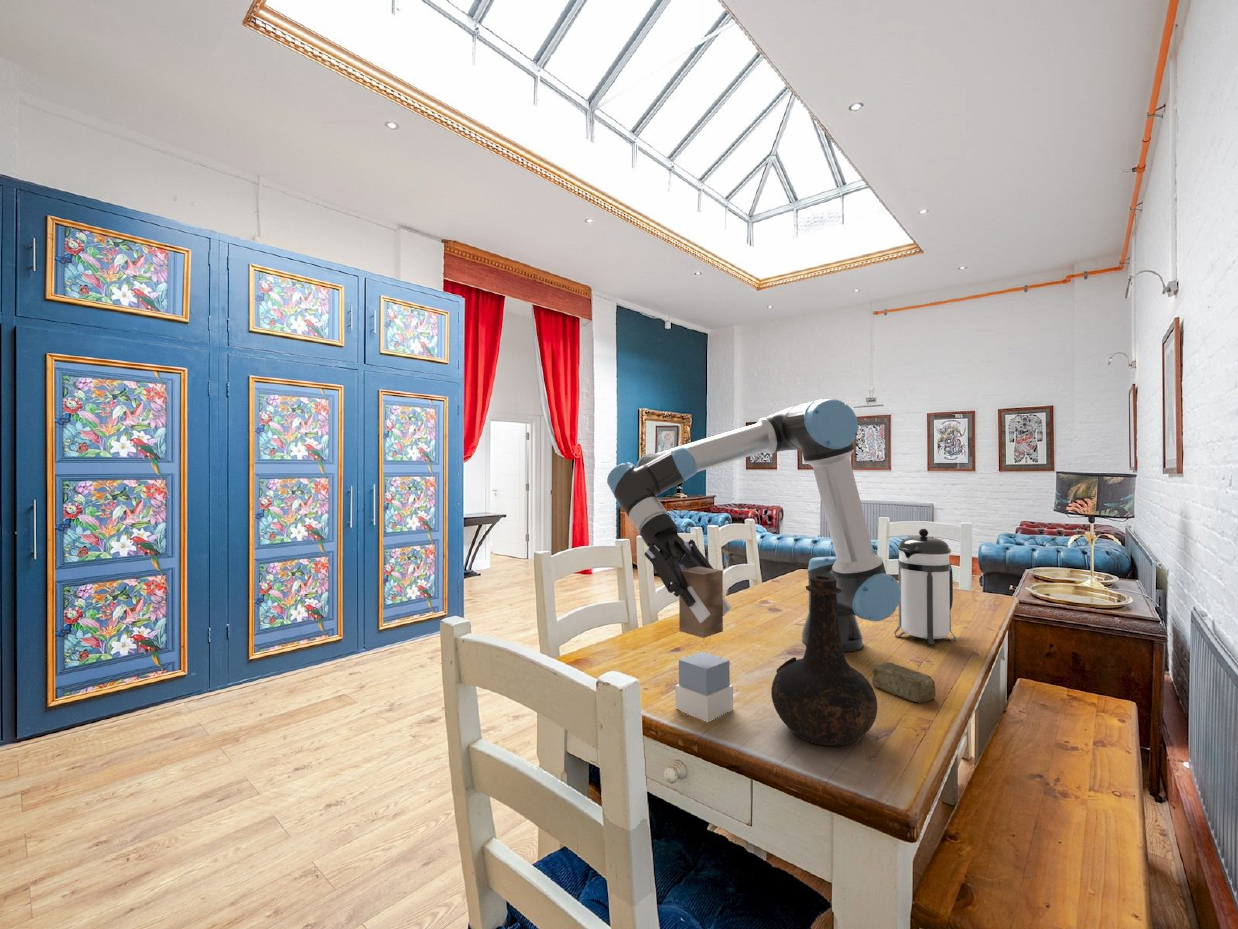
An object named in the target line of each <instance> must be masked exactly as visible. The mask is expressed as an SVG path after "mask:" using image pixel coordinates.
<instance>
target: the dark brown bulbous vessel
mask: <svg viewBox="0 0 1238 929" xmlns="http://www.w3.org/2000/svg"><path fill="white" fill-rule="evenodd" d="M810 582H811V585H809V584H808V585H806V586H805V590H807V591H808V592H809V591H810V592H811V603H810V621H809V632H808V640H807V644H806V647H805V650H804V651H805V652H804V655H803V657H802V658H799V659H798V658H797V657H794V656H793V657H791V658H790V659H788V660H786V661H784V663H782V664H781V665H780V666H779V667H778V668H776V674H775V676H774V678H773V680H772V684H771V694H770V695H771V701H772V704H773V708H774V709H775V711H776V713H777V715H778V716H779V718H780V719H781V721H782V722H783V724H784V725H785V726H786V727H787V728H788V729H789V730H790V731H791V732H792V733H794V734H795V736H797V737H799V738H800V739H802V740H805V741H806V742H808V743H811V744H815V745H819V746H820V745H821V746H826V747H827V746H828V747H837V746H845V745H847V744H851V743H855V742H856V741H858V740H859V739H861V738H862V737H864V736H865V735H866V734H867V733H868V732H869V731H870V729H871V728H872V727H873V725H874V723H875V721H876V719H877V714H878V699H877V696H876V692H875V690H874V688H873V685H871V683H870V682H869V680H868V679H867V678H866V677H865V676H864V675H863V674H862V673H861V672H860V671H858V670H857V669H855V667H853V666H851V665H849V663H848V662H847V660H846V656H845V652H843V648H842V642H841V637H840V629H839V621H838V610H837V594H838V593H841V592H842V590H841V589H840V588H837V587H836V583H837V580H835V579H833V578H830V577H825V576H814V577H810Z"/></svg>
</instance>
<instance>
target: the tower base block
mask: <svg viewBox="0 0 1238 929" xmlns="http://www.w3.org/2000/svg"><path fill="white" fill-rule="evenodd" d="M674 689H675V690H674V694H675V696H674V697H675V698H674V700H675V702H674V704H675V707H674V708H677V709H679V710H681V711H682V712H681V713H683V712H686V713H688V714H689V715H688V714H687V715H688V716H690V715H693V716H695V717H697V718H699V719H703V720H705V721H706V722H705V723H707V722H709V721H710V720H712V719H714V720H716V719H718V718H720V717H722V716H724V715H726V714H727V713H726V712H728V713H731V712H732V711H734V685H732V684H730V686H728V687H726V688H724V689H721V690H719V691H717V692H714V693H712V694H710V695H707V696H706V695H703V694H701V693H698V692H696V691H693V690H690V689H688V688H685V687H683V686H680V685H679V683H677V684H675V686H674ZM725 713H726V714H725ZM723 714H724V715H723ZM721 715H722V716H721ZM719 716H720V717H719ZM695 717H694V718H695ZM717 717H718V718H717ZM697 718H696V719H697ZM715 718H716V719H715ZM699 719H698V720H699ZM709 723H710V722H709Z"/></svg>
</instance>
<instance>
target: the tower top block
mask: <svg viewBox="0 0 1238 929" xmlns="http://www.w3.org/2000/svg"><path fill="white" fill-rule="evenodd" d="M730 664H731V663H730V659H726V658H723V657H720V656H718V655H714V654H711V653H708V652H704V651H700V652H699V651H698V652H697V653H694V654H692V655H688V656H685V657H682V658H680V659H678V684H679V685H680V686H683V687H685V688H688V689H690V690H693V691H696V692H698V693H701V694H703V695H706V696H707V695H710V694H712V693H714V692H717V691H719V690H721V689H724V688H726V687H728V686H730V685H731V683H730V682H731V678H730V675H731V674H730V673H731V672H730V670H731V669H730V668H731V667H730Z"/></svg>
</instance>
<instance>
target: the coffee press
mask: <svg viewBox="0 0 1238 929" xmlns="http://www.w3.org/2000/svg"><path fill="white" fill-rule="evenodd" d="M918 534H919V536H915V537H914V536H913V537H906V538H903V539H902V540H901V541H900V542H899V545H897V550H898V553H899V554H898V555H899V556H898V561H897V562H898V571H897V572H898V584H899V586H900V590H901V598H900V602H899V605H898V626H897V628H896V629H895V630H894V632H893V635H895V637H896V638H901V637H903V635H905V634H906V635H909V636H912V637H915V638H920V639H925V641H926V644H927V647H935V640H938V639H944V638H947V639H948V640H950V641H951V642H954V641H956V636H955V635H954V634H953V632H952V628H951V626H952V624H951V623H952V622H951V610H952V607H953V601H954V598H953V597H954V591H953V590H954V588H953V587H954V583H953V582H954V581H953V580H954V579H953V568H952V565H951V563H950V555H951V552H952V549H951V548H950V546H949V544H948V543H947V542H946V541H945V540H942V539H939V538H934V537H927V536H928V535H929V531H928V529H927V528H921V529H919V531H918ZM899 630H901V631H902V632H901V633H900V634H898V635H897V633H898V632H899ZM949 634H951V635H952V636H953V638H950V637H948V636H949Z"/></svg>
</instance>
